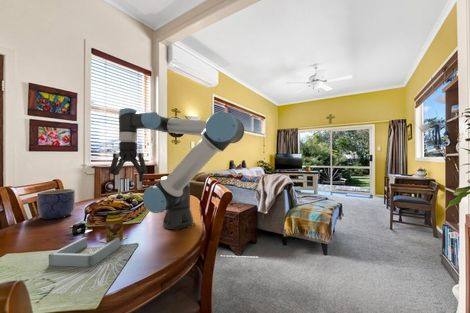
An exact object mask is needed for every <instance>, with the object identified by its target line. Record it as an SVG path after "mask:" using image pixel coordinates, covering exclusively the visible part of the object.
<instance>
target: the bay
mask: <svg viewBox="0 0 470 313" xmlns="http://www.w3.org/2000/svg"><path fill="white" fill-rule="evenodd" d="M120 242H121V241H120V238H116V239H114V240H112V241H111V242H109V243H106V244H104V245H103V246H101V247H100V248H99V247H98V249H96V250H95V251H93V252H92V253H78V252H79V251H81V250H83V249H85V248H87V246H88V237H87V236H86V237H85V236H84V237H82V238H80V239H77V240H75V241H73V242H72V243H69V244H68V245H65V246H63V247H61V248H60V249H57V250H55V251H52V253H49V254H48V266H51V267H52V266H53V267H54V266H57V267H84V268H86V267H87V268H92V267H94V266H95V265H96V264H98V263H99V262H101V261H102V260H103V259H105V258H106V257H108V256H109V255H111V254H112V253H113V252H115V251H116V250H118V249H119V248H120V246H121V245H120Z"/></svg>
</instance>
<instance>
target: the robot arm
mask: <svg viewBox="0 0 470 313" xmlns="http://www.w3.org/2000/svg"><path fill="white" fill-rule="evenodd" d="M118 125H119V126H118V141H119V143H118V146H119V147H118V148H119V152H115V153H112V160H111V164H110V166H109V167H110V168H109V171H108V173H109V174H112V177H113V182H114V190H118V189H121V174H120V172H121V169H122V168H123V166H124V165H125V163H126V162H131V163H132V165H133V166H134V168H135V170H136V172H137V173H138V174H137V175H136V184H137V185H136V188H137V190H140V189H142V188H143V184H142V183H143V182H144V176H145V174H148V168H147V165H146V162H145V159H144V155H145V154H144V153H143V152H137V151H138V143H137V141H138V129H139V130H140V129H142V130H143V129H146V130H151V131H157V132H162V133H172V134H182V135H189V136H199V137H201V138H200V139H199V140H198V142H197V143H196V144H195V145H194V146H193V147H192V148H191V150H190V151H189V152H188V153H187V154H185V156H184V157H183V159H182V160H181V161H180V162H178V164H177V165H176V167H174V169H173V170H172V171H171V172H170V173H169V174H168V175H167V176H162V177H161V178H160V179H159V180H158V181H157V183H155V184H154V185H151V186H149V187H147V188H146V189H145V190H144V192H143V195H142V199H143V204H144V207H145V208H146V209H147V211H148V212H151V213H152V214H159V213H163V212H165V215H164V218H163V221H162V227H163V228H164V229H166V230H167V229H168V230H182V229H181V228H183V229H186V228H185V227H187V228H189V226H190V227H191V225H192V224H193V225H194V217H193V214H192V210H191V181H192V180H193V179H194V178H195V176H197V175H198V173H199V172H200V171H202V169H203V167H205V166H206V164H208V162H209V161H210V160H211V159H212V158H213V157H214V156H215V155H216V154H217V152H218V153H219V152H224V151H225V150H226V148H228V146H230V144H236V143H239V141H241V140H242V138H243V137H244V135H245V126H244V124H243V122H242V121H241V120H240V119H238V118H237V117H235V116H234V115H233V114H231V113H229V112H226V111H217V112H215V113H213V114H211V115H210V116H209V117H208V118H207V120H197V119H189V118H176V117H166V116H161V115H159V114H158V112H156V111H150V110H149V111H148V110H147V111H141V112H138V111H137V109H134V108H130V107H129V108H128V107H123V108H120V109H119V111H118ZM137 158H138V159H137ZM193 225H192V226H193Z"/></svg>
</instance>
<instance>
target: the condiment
mask: <svg viewBox="0 0 470 313" xmlns="http://www.w3.org/2000/svg"><path fill="white" fill-rule="evenodd" d="M122 213H123V212H122V210H121V209H118V210H113V211H109V212H108V213H107V217H106V220H105V237H106V238H102V239H100V240H98V242H100V243H101V242H102V243H106V244H108V243H109V242H111V241H112V240H114V239H116V238H120V242H121V241H124V240H126V239H127V238H129V237H128V236H125V235H124V217H123V216H122V215H123V214H122Z"/></svg>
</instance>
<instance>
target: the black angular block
mask: <svg viewBox="0 0 470 313" xmlns="http://www.w3.org/2000/svg"><path fill="white" fill-rule="evenodd" d="M91 231H92V229H91V228H90V229H89V228H87V225H86V222H78V223H75V224H73V225H72V227H71V232H70V233H68V234H64V235H63V237H70V238H74V237H77V236H80V235H82V234H86V233H89V232H91Z"/></svg>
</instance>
